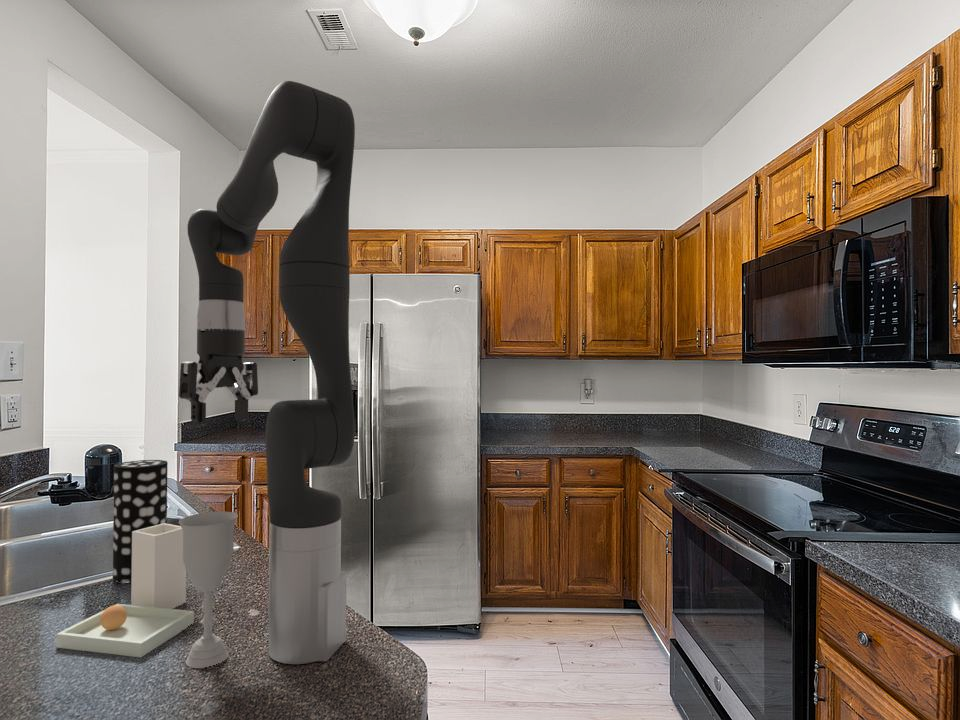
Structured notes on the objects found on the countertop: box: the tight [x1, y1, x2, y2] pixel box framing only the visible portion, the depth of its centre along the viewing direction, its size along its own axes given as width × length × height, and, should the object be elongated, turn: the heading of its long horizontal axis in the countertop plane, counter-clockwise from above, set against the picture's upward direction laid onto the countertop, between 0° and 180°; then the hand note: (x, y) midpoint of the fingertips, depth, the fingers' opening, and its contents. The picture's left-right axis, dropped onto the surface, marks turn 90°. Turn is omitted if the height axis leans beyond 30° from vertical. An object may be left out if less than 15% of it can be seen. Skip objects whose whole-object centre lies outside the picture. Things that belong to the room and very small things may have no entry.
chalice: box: [178, 511, 239, 669], centre depth 76 cm, size 7×7×18 cm
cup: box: [130, 523, 187, 609], centre depth 92 cm, size 5×5×12 cm
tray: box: [55, 603, 195, 658], centre depth 82 cm, size 13×10×2 cm
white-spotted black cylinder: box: [112, 459, 169, 582], centre depth 105 cm, size 8×8×20 cm
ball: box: [100, 604, 127, 630], centre depth 83 cm, size 3×3×3 cm
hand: (220, 422), depth 100 cm, fingers open, 8 cm apart
